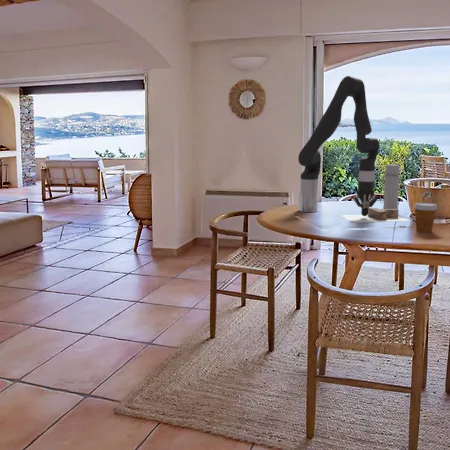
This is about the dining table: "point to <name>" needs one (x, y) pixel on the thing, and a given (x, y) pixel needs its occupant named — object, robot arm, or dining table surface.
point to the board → (370, 218)
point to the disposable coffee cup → (425, 216)
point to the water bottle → (391, 187)
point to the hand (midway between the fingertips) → (364, 215)
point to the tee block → (382, 213)
